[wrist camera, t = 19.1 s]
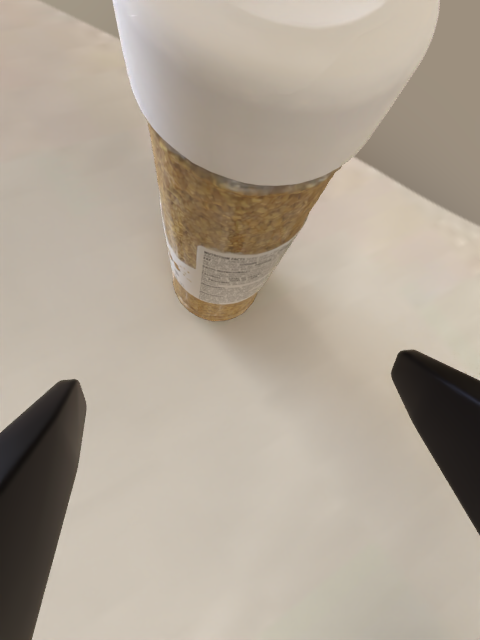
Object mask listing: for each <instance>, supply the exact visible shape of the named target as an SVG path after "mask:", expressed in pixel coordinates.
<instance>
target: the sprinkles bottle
mask: <svg viewBox="0 0 480 640" xmlns="http://www.w3.org/2000/svg"><path fill="white" fill-rule="evenodd" d="M439 2H440V0H113V5H114V10H115V15H116V21H117V26H118V31H119V35H120V41H121V45H122V50H123V55H124V59H125V64H126V68H127V73H128V77H129V81H130V84H131V88H132V91H133V93H134V96H135V98H136V101H137V103H138V105H139V107H140V109H141V111H142V113H143V114H144V116H145V118H146V120H147V122H148V127H149V131H150V136H151V143H152V149H153V154H154V160H155V166H156V173H157V180H158V185H159V190H160V207H161V214H162V221H163V226H164V231H165V237H166V243H167V248H168V253H169V259H170V264H171V268H172V271H173V285H174V289H175V292H176V294H177V297H178V299H179V300H180V302H181V303H182V304H183V305H184V307H185V308H186V309H187V310H189V311H190V312H192V313H193V314H195V315H196V316H198V317H201V318H203V319H207V320H211V321H221V320H228V319H232V318H235V317H237V316H238V315H240V314H242V313H244V312H245V311H246V310H247V308H248V307H249V306H250V305H251V304H252V303H253V301H254V299H255V297H256V295H257V292H258V290H259V289H260V288H261V287H262V286H263V285H264V283H265V282H266V280H267V279H268V277H269V276H270V275H271V273H272V272H273V270H274V269H275V267H276V266H277V264H278V263H279V261H280V260H281V258H282V257H283V255H284V254H285V252H286V251H287V249H288V248H289V246H290V245H291V243H292V242H293V240H294V239H295V237H296V236H297V234H298V233H299V231H300V230H301V228H302V227H303V225H304V223H305V222H306V220H307V217H308V214H309V212H310V210H311V209H312V207H313V206H314V204H315V203H316V202H317V200H318V199H319V197H320V195H321V194H322V192H323V191H324V189H325V188H326V186H327V184H328V182H329V181H330V179H331V178H332V177H333V175H334V173H335V172H336V171H338V170H339V169H340V168H341V167H342V165H343V164H345V163H346V162H347V161H349V160H350V159H351V158H352V157H354V156H355V155H356V154H357V153H358V151H359V150H360V149H361V148H362V147H363V146H364V144H365V143H366V142H367V141H368V139H369V138H370V137H371V135H372V134H373V132H374V131H375V130H376V128H377V127H378V125H379V124H380V122H381V121H382V119H383V118H384V117H385V115H386V113H387V112H388V110H389V109H390V108H391V106H392V105H393V103H394V102H395V100H396V98H397V97H398V96H399V94H400V93H401V91H402V90H403V88H404V87H405V85H406V84H407V82H408V81H409V79H410V78H411V76H412V75H413V73H414V71H415V70H416V69H417V67H418V65H419V64H420V62H421V61H422V59H423V57H424V55H425V53H426V51H427V49H428V47H429V44H430V42H431V40H432V38H433V34H434V31H435V27H436V24H437V19H438V14H439Z"/></svg>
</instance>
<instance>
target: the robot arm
mask: <svg viewBox="0 0 480 640" xmlns="http://www.w3.org/2000/svg"><path fill="white" fill-rule="evenodd" d="M391 376H392V380H393V382H394V384H395V386H396V388H397V391H398V393H399V395H400V397H401V399H402V401H403V403H404V405H405V408H406V410H407V412H408V414H409V416H410V418H411V420H412V422H413V424H414V426H415V428H416V429H417V431H418V433H419V434H420V436H421V438H422V440H423V441H424V443H425V445H426V446H427V448H428V450H429V451H430V453H431V455H432V456H433V458H434V460H435V461H436V463H437V465H438V466H439V468H440V470H441V471H442V473H443V475H444V476H445V478H446V480H447V481H448V483H449V485H450V486H451V488H452V490H453V491H454V493H455V495H456V496H457V498H458V500H459V501H460V503H461V505H462V506H463V508H464V510H465V511H466V513H467V515H468V516H469V518H470V520H471V522H472V523H473V525H474V527H475V528H476V530H477V532H478V533H479V535H480V381H479V380H477V379H475V378H473V377H471V376H469V375H467V374H465V373H463V372H460V371H458V370H456V369H454V368H452V367H450V366H448V365H446V364H444V363H441V362H439V361H437V360H435V359H433V358H431V357H429V356H427V355H425V354H423V353H420V352H418V351H416V350H403V351H400V352H399V353H398V355H397V358H396V361H395V363H394V366H393V368H392V371H391ZM85 416H86V401H85V398H84V395H83V392H82V389H81V386H80V383H79V381H78V380H76V379H72V380H62V381H59V382H58V383H56V384H55V385H54V386H53V387H52V388H51V389H50V390H48V391H47V392H46V393H45V394H44V395H43V396H42V397H40V398H39V399H38V400H37V401H36V402H35V403H34V404H33V405H31V406H30V407H29V408H28V409H27V410H26V411H25V412H23V413H22V414H21V415H20V416H19V417H18V418H17V419H15V420H14V421H13V422H12V423H11V424H10V425H9V426H7V427H6V428H5V429H4V430H3V431H2V432H1V433H0V640H32V636H33V633H34V629H35V625H36V621H37V618H38V614H39V610H40V607H41V603H42V599H43V595H44V592H45V588H46V584H47V581H48V577H49V573H50V569H51V566H52V562H53V558H54V554H55V551H56V547H57V543H58V540H59V536H60V532H61V528H62V525H63V521H64V517H65V514H66V510H67V506H68V502H69V499H70V495H71V491H72V488H73V484H74V480H75V476H76V472H77V468H78V463H79V457H80V450H81V443H82V436H83V429H84V422H85Z"/></svg>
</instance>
